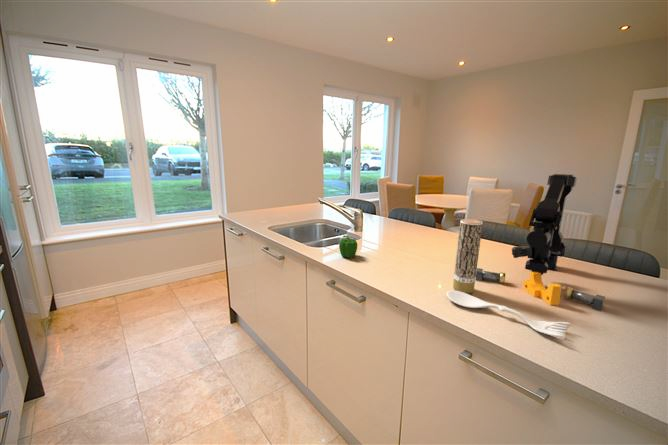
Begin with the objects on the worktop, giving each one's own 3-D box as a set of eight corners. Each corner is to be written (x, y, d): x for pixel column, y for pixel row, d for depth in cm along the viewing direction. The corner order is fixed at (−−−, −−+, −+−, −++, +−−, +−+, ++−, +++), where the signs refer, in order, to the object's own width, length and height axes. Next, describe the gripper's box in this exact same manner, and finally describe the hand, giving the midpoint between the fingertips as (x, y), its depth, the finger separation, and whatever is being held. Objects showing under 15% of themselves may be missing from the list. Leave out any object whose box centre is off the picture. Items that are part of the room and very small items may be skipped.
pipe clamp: (523, 288, 105) (525, 271, 104) (535, 288, 105) (538, 271, 104) (544, 305, 94) (547, 286, 92) (558, 305, 94) (561, 286, 92)
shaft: (562, 299, 97) (565, 288, 96) (565, 295, 100) (568, 285, 99) (601, 311, 90) (604, 299, 90) (603, 306, 93) (605, 295, 92)
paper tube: (449, 285, 107) (456, 219, 101) (467, 285, 107) (475, 218, 101) (458, 294, 100) (467, 223, 94) (477, 294, 101) (487, 223, 95)
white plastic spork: (563, 348, 73) (566, 336, 72) (441, 302, 95) (442, 292, 94) (569, 333, 79) (572, 322, 79) (453, 293, 101) (454, 284, 101)
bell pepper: (360, 255, 138) (361, 235, 135) (351, 260, 131) (352, 239, 129) (344, 252, 142) (345, 232, 140) (335, 257, 135) (336, 236, 133)
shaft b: (503, 281, 111) (505, 271, 111) (504, 285, 108) (505, 275, 107) (475, 276, 116) (477, 266, 115) (475, 280, 112) (476, 270, 111)
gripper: (518, 232, 116) (512, 269, 119) (511, 243, 101) (505, 284, 105) (553, 237, 109) (546, 276, 113) (551, 249, 95) (542, 294, 98)
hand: (534, 282), depth 108 cm, fingers closed
